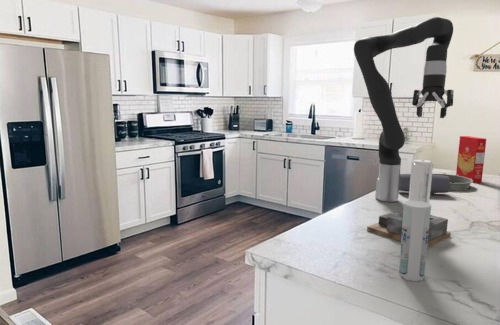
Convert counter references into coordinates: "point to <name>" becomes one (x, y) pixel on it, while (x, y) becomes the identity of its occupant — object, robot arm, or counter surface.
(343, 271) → the counter surface
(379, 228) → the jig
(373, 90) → the robot arm
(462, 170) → the food packaging
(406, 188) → the bluetooth speaker
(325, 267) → the counter surface
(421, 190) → the paper towel roll
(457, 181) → the cake pan
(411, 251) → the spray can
